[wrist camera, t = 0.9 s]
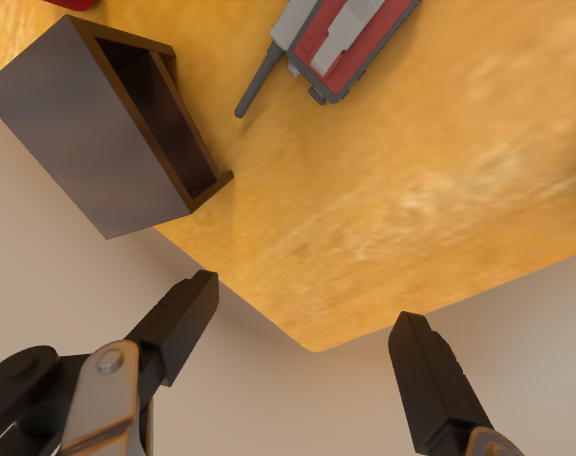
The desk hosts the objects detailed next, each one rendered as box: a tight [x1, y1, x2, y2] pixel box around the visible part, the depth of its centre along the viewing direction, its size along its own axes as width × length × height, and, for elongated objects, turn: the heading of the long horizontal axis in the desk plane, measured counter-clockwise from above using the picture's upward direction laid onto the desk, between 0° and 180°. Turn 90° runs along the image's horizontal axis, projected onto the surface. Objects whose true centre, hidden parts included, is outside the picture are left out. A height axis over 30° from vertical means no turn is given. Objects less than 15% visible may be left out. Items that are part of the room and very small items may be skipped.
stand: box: [0, 14, 234, 239], centre depth 24 cm, size 15×12×11 cm
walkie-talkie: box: [235, 0, 421, 118], centre depth 20 cm, size 9×4×20 cm
